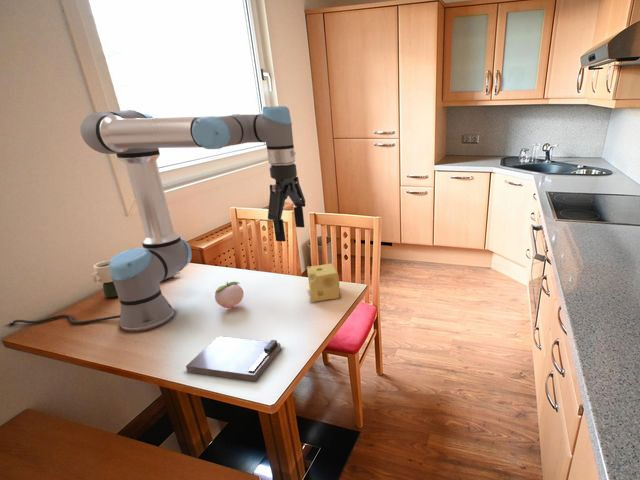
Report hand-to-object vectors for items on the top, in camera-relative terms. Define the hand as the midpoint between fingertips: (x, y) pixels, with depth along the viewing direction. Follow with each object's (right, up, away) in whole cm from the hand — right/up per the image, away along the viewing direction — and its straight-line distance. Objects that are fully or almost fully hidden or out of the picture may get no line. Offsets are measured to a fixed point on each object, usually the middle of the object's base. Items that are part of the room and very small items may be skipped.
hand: (291, 233), depth 117 cm
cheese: (+7, -21, +22) cm, 31 cm away
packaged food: (-63, -16, +41) cm, 76 cm away
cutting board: (-12, -36, -13) cm, 40 cm away
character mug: (-73, -22, +27) cm, 81 cm away
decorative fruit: (-24, -25, +15) cm, 38 cm away
